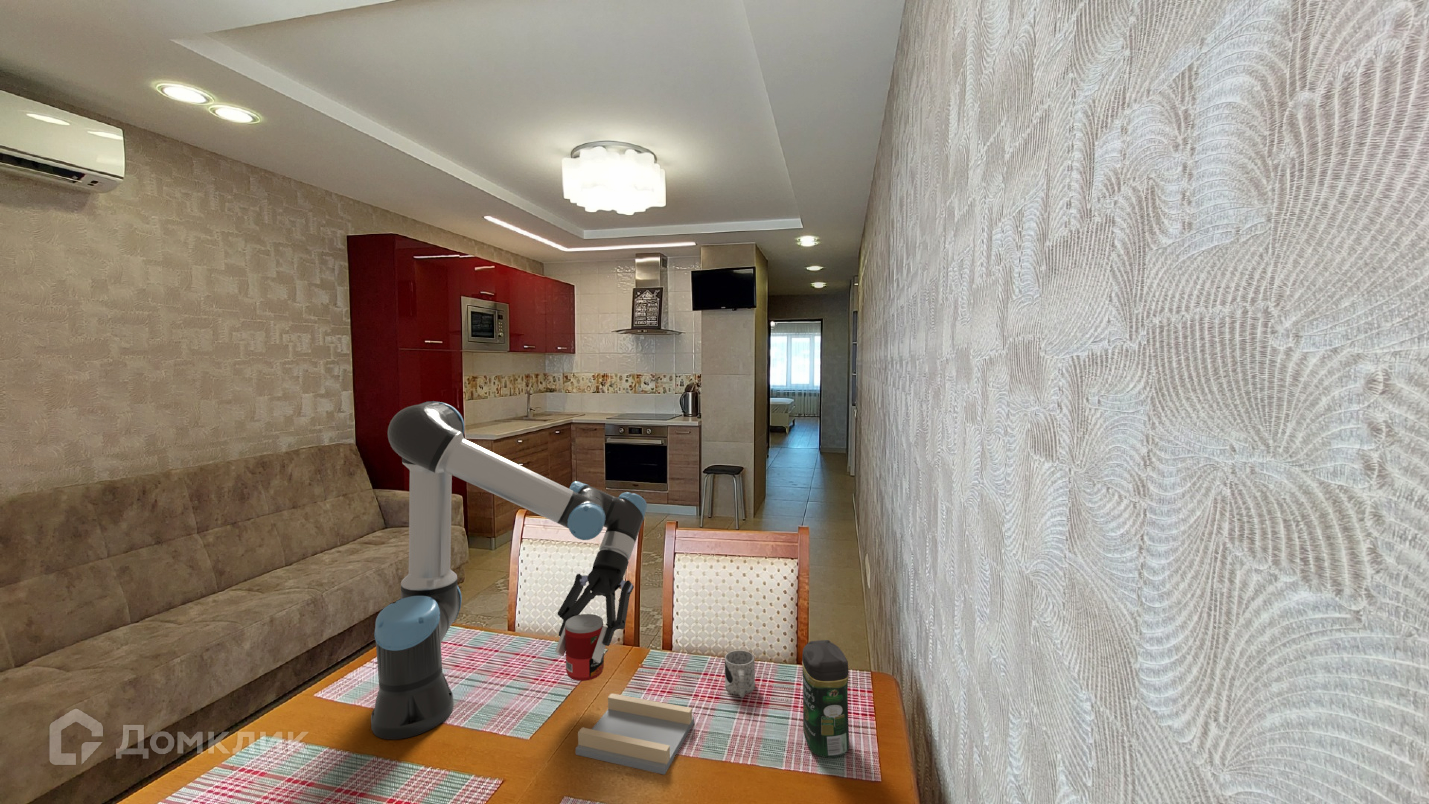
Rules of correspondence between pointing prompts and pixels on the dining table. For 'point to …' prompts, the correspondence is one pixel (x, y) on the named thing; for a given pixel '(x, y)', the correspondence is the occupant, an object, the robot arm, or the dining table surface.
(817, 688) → the coffee jar
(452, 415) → the robot arm
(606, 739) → the track
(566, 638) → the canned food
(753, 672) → the mug
